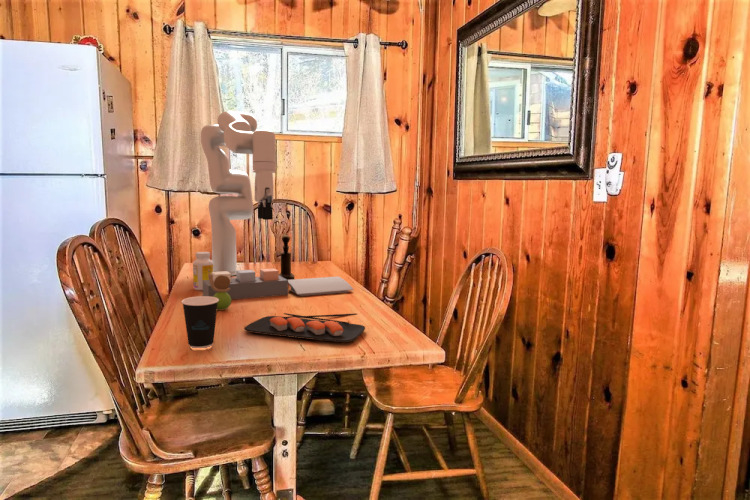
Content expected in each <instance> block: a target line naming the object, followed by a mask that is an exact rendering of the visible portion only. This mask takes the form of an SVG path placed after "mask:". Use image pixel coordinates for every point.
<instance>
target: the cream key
mask: <svg viewBox="0 0 750 500" xmlns="http://www.w3.org/2000/svg"><path fill="white" fill-rule="evenodd" d="M212 274H213V281H215V279H216V277H218V276H220V275H225V276H227V277H228V278H229V279H230V283H231V278H232V276H231V273H229V272H228V271H221V272H212Z"/></svg>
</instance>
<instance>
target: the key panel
mask: <svg viewBox="0 0 750 500" xmlns="http://www.w3.org/2000/svg"><path fill="white" fill-rule="evenodd" d="M228 288H230V290H229V291H227V292H226V293H228V294H229V295H230V297H231V301H232V300H241V299H254V298H265V297H266V298H267V297H276V296H277V297H278V296H280V297H281V296H288V295H289V283H288V280H287V279H285V278H283V277H281V276H279V280H268V281H263V280H261V279H260V276H255V281H253V282H238V281H237V279H236V277H235V278H234V277H231V283H230V286H229V287H228ZM216 293H218V292H217V291H214V290H213V289H212V287H211V285H210V281H209V280H203V290H202V296H210V297H213V296H214V295H215V294H216Z"/></svg>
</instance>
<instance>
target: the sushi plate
mask: <svg viewBox="0 0 750 500" xmlns="http://www.w3.org/2000/svg"><path fill="white" fill-rule="evenodd" d="M283 315H287V316H279V315H277V316H276V315H268V316H264V317H262V318H259V319H257V320H255V321H253V322H250V323H249V324H247V325H246V326H244V331H245V332H250V333H255V334H256V333H257V334H264V335H271V334H272V335H273V336H280V335H281V337H289V336H290V338H298V337H299V338H298V339H300V338H301V339H307V338H308V339H309V340H316V339H317V340H318V341H325V340H326V341H325V342H336V343H337V342H339V343H350V342H353V341H354V340H356V339H357V338H358V337H360V336H361V335H362V334H363V333H364V331H365V330H366V326H365V325H362V324H356V323H350V322H349V321H341V320H335V319H327V318H328V317H331V318H333V317H335V318H336V317H349V316H355V315H358V313H339V314H338V313H337V314H321V315H299V314H293V313H286V312H284V313H283ZM320 317H321V318H320ZM324 317H325V318H324ZM326 317H327V318H326ZM272 335H271V336H272Z"/></svg>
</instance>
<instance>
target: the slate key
mask: <svg viewBox="0 0 750 500" xmlns="http://www.w3.org/2000/svg"><path fill="white" fill-rule="evenodd" d="M238 270H239V271H236V275H235V278H236V279H237V281H238V282H253V281H255V277H256V271H254V270H253V269H242V270H240V269H238Z"/></svg>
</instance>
